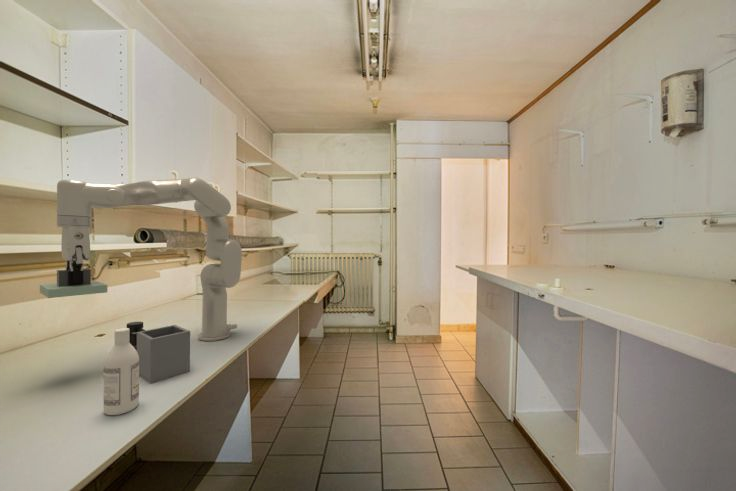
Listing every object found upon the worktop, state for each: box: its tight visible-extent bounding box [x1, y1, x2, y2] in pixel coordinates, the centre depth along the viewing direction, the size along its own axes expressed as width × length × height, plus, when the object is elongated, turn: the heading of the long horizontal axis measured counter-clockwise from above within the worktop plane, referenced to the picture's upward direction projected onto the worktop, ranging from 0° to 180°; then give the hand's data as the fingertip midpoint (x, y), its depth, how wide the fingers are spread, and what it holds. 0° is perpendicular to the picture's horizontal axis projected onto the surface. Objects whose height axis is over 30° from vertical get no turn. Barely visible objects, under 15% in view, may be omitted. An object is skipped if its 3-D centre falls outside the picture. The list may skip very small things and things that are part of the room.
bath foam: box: [103, 327, 140, 416], centre depth 78 cm, size 7×7×20 cm
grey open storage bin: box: [137, 324, 191, 384], centre depth 99 cm, size 11×11×13 cm
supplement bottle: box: [125, 321, 146, 351], centre depth 111 cm, size 7×7×12 cm
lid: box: [39, 268, 108, 299], centre depth 93 cm, size 13×13×7 cm
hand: (74, 283), depth 93 cm, fingers closed on lid, 2 cm apart
